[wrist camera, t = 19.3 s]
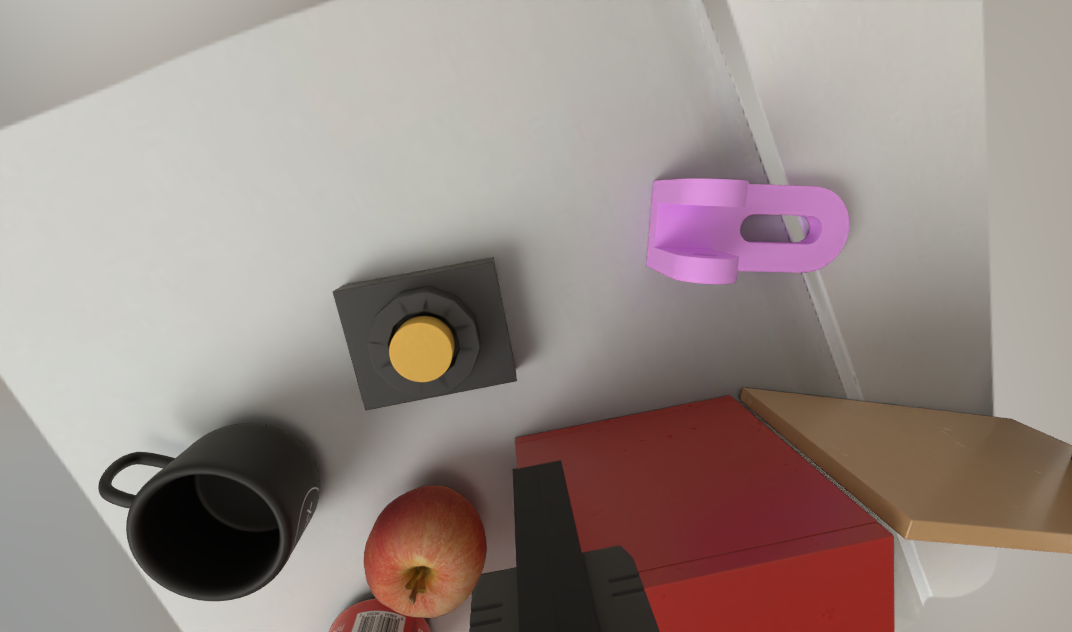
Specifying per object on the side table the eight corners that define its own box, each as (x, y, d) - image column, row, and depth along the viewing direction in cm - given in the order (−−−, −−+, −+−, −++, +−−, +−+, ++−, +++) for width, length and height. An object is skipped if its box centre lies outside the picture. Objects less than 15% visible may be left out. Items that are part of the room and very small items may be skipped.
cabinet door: (762, 307, 36) (957, 389, 21) (1039, 344, 39) (1394, 443, 23) (739, 399, 38) (905, 540, 23) (1006, 430, 40) (1320, 575, 25)
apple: (404, 577, 39) (382, 673, 31) (360, 490, 37) (324, 569, 29) (503, 541, 39) (506, 627, 31) (464, 452, 37) (456, 520, 29)
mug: (346, 437, 36) (311, 495, 29) (306, 543, 38) (264, 621, 31) (169, 378, 34) (87, 424, 27) (135, 492, 36) (50, 563, 29)
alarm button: (447, 310, 31) (445, 317, 29) (460, 366, 32) (458, 376, 30) (388, 321, 31) (382, 329, 29) (402, 377, 32) (397, 387, 30)
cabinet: (730, 394, 38) (894, 535, 22) (752, 637, 43) (897, 887, 28) (514, 437, 37) (529, 612, 22) (563, 677, 42) (603, 956, 27)
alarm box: (493, 257, 34) (493, 265, 30) (515, 370, 36) (518, 391, 32) (342, 285, 34) (322, 297, 30) (373, 397, 36) (358, 422, 32)
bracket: (646, 265, 35) (682, 283, 28) (653, 180, 34) (693, 178, 27) (828, 270, 36) (905, 288, 29) (842, 188, 35) (925, 187, 28)
